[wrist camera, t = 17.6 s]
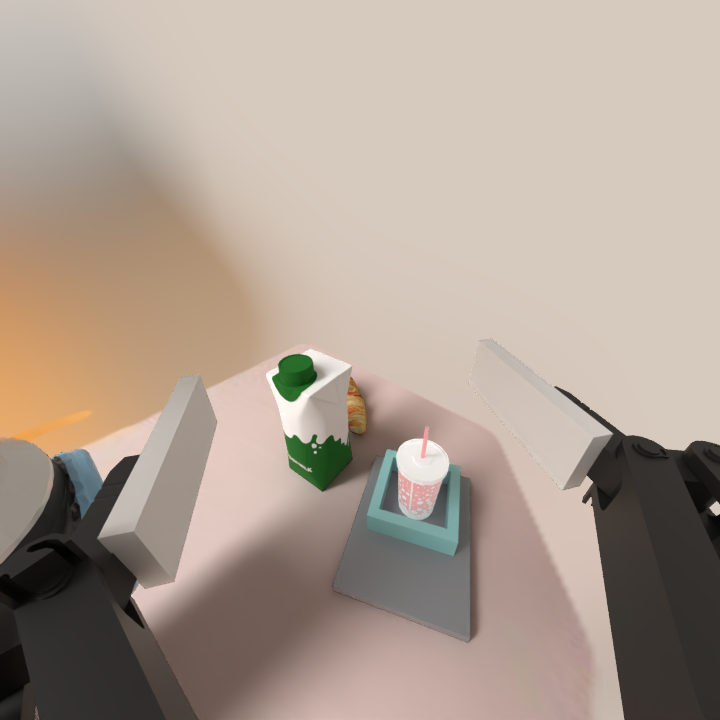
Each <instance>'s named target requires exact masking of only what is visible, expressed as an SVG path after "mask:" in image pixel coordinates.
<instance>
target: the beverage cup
mask: <svg viewBox="0 0 720 720" xmlns="http://www.w3.org/2000/svg"><path fill="white" fill-rule="evenodd" d="M429 428H430V427H429V426H425V431H424V438H423V439H411V440H409V441H406V442H404V443H403V444H402V445H401V446H400V447H399V449H398V451H397V454H396V461H397V467H398V501H399V507H400V509H401V511H402V512H403V513H404V514H405V515H406V516H407V517H409V518H412V519H415V520H423V519H425V518H427V517H428V516H429V515H430V514H431V513H432V511H433V507H434V504H435V501H436V498H437V495H438V492H439V489H440V486H441V483H442V480H443V479H444V477H445V476H446V475H447V472H448V468H449V459H448V456H447V453H446V452H445V451H444V450H443V449H442V447H441V446H439V445H437V444H436V443H434V442H433V441H429V440H428V434H429Z"/></svg>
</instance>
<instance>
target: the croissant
mask: <svg viewBox="0 0 720 720" xmlns="http://www.w3.org/2000/svg"><path fill="white" fill-rule="evenodd" d="M347 407H348V429H349V430H350V431H352V432H354V433H358V434H362V433H364V432H365V430H366V425H367V424H366V422H367V419H366V414H365V410H366V408H365V403H364V401H363V399H362V397H361V395H360V393H359V390H358V387H357V386H356V384H355V382H354V381H353V379H352V377H350V381H349V387H348V393H347Z"/></svg>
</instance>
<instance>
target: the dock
mask: <svg viewBox="0 0 720 720" xmlns="http://www.w3.org/2000/svg"><path fill="white" fill-rule="evenodd" d="M396 454H397V451H394V450H389V449H387V450H386V453H385V457H380V456H376V457H375V460H374V463H373V466H372V469H371V472H370V475H369V478H368V481H367V484H366V487H365V490H364V493H363V496H362V499H361V502H360V505H359V508H358V511H357V514H356V517H355V520H354V523H353V526H352V529H351V532H350V535H349V538H348V541H347V544H346V547H345V550H344V553H343V556H342V559H341V562H340V565H339V568H338V571H337V574H336V577H335V580H334V583H333V591H336V592H338V593H341V594H344V595H346V596H349V597H351V598H354V599H357V600H359V601H362V602H364V603H367V604H369V605H372V606H375V607H377V608H380V609H382V610H385V611H388V612H390V613H393V614H395V615H398V616H400V617H403V618H406V619H408V620H411V621H413V622H416V623H418V624H421V625H424V626H426V627H429V628H431V629H434V630H437V631H439V632H442V633H444V634H447V635H449V636H452V637H455V638H457V639H460V640H462V641H465V642H468V641H469V640H470V478H466V477H462V476H460V469H461V466H457V465H452V464H449V468H448V472H447V475H446V476H445V477H444V479H443V480H442V483H441V486H440V489H439V492H438V495H437V498H436V501H435V504H434V507H433V511H432V513H431V514H430V515H429V516H428V517H427V518H425V519H423V520H415V519H412V518H409V517H407V516H406V515H405V514H404V513H403V512H402V511H401V509H400V507H399V501H398V467H397V461H396Z"/></svg>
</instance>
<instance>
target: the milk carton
mask: <svg viewBox="0 0 720 720" xmlns="http://www.w3.org/2000/svg"><path fill="white" fill-rule="evenodd" d="M351 370H352V365H350V364H347V363H345V362H342V361H340V360H337V359H335V358H332V357H330V356H328V355H325V354H323V353H320V352H318V351H315V350H313V349H309V350H307V351H305V352H304V353H302V354H294V355H290V356H287V357H285V358H283V359H282V360H281V361H280V362H279V364H278V367H277V368H275V369H273V370H271V371H270V372H268V373H267V374H266V377H267V379H268V382H269V384H270V387H271V389H272V391H273V394H274V396H275V399H276V401H277V404H278V407H279V411H280V416H281V421H282V425H283V430H284V435H285V440H286V444H287V450H288V458H289V466H290V468H291V469H292V470H294V471H295V472H296V473H298V474H299V475H300V476H302V477H303V478H305V479H306V480H307V481H309V482H310V483H311V484H313V485H314V486H316V487H317V488H318V489H320V490H321V491H323V490H324V489H325V488H326V487H327V486H328V485H329V484H330V483H331V482H332V481H333V480H334V478H335V477H336V476H337V475H338V474H339V473H340V472H341V471H342V470H343V469H344V468H345V467H346V465H347V464H348V463H349V462H350V461H351V460H352V459H353V458H352V453H351V447H350V441H349V429H348V407H347V393H348V387H349V381H350V375H351Z"/></svg>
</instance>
